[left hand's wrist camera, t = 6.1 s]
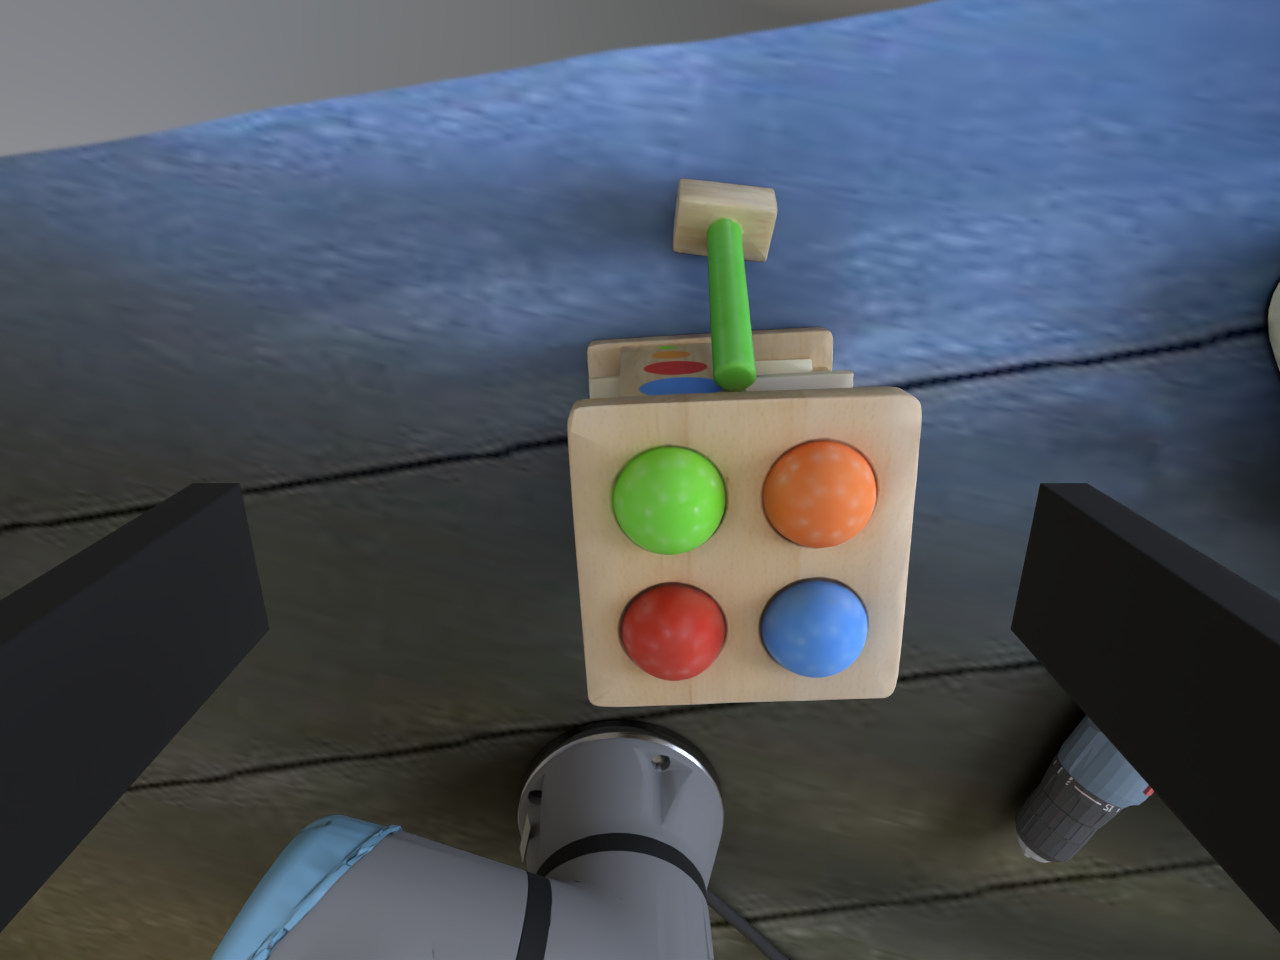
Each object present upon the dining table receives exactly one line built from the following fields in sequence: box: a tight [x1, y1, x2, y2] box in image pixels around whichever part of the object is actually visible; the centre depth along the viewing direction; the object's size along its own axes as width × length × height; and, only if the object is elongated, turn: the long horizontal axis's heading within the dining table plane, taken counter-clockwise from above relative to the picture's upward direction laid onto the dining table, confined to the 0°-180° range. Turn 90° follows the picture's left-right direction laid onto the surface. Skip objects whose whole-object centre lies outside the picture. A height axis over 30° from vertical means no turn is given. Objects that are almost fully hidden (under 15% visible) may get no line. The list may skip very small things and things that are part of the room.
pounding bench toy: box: [567, 179, 922, 707], centre depth 36 cm, size 23×14×18 cm, turn 3°
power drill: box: [1015, 715, 1154, 862], centre depth 52 cm, size 5×19×20 cm
